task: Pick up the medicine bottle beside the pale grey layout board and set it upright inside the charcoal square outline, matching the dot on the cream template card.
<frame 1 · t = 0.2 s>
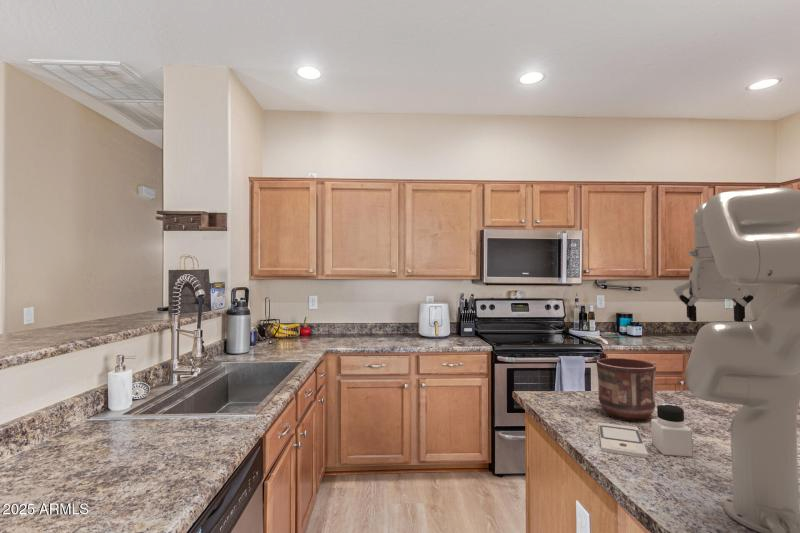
hand: (715, 321, 100), 36 cm above the countertop, tool pointing down, fingers open, 9 cm apart
pottery: (627, 415, 134), on the countertop
medicine bottle: (671, 451, 107), on the countertop
layout board: (620, 440, 113), on the countertop
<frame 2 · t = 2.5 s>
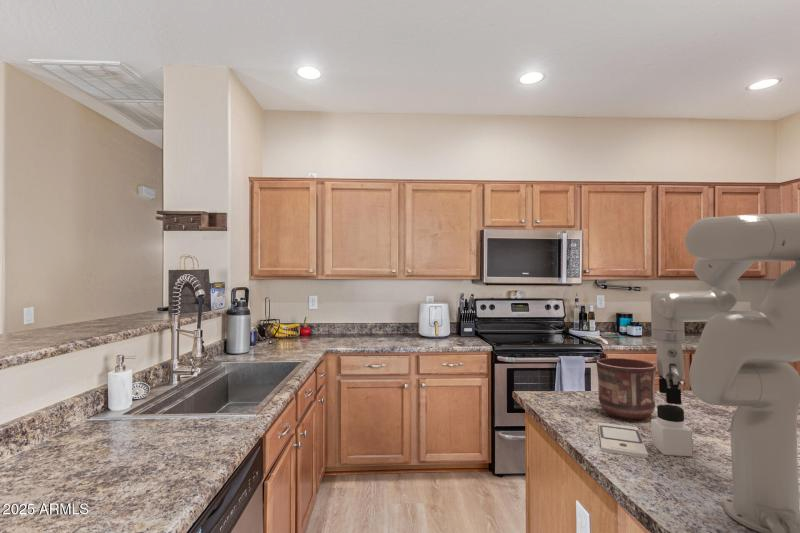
hand: (669, 398, 107), 14 cm above the countertop, tool pointing down, fingers open, 9 cm apart
nothing on the countertop moved.
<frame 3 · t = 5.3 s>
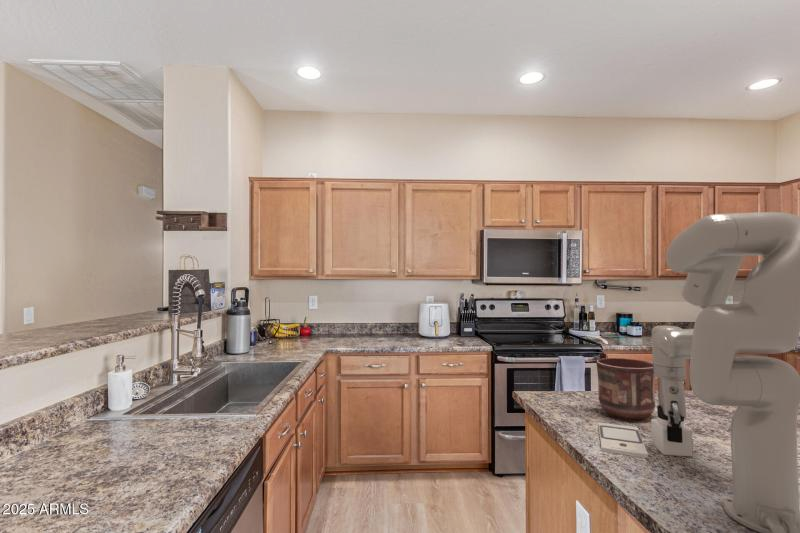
hand: (671, 435, 107), 4 cm above the countertop, tool pointing down, fingers closed on medicine bottle, 8 cm apart
medicine bottle: (671, 451, 107), on the countertop, touching gripper
everything else where it was.
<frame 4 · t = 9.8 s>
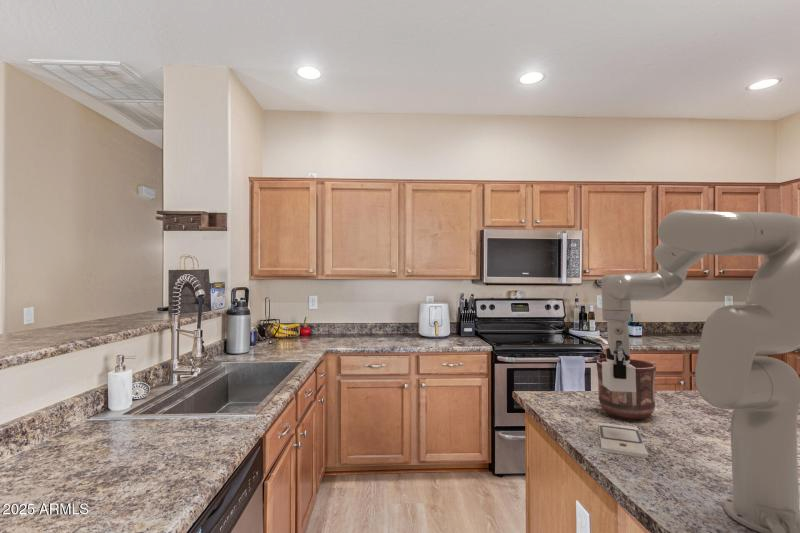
hand: (618, 374, 116), 19 cm above the countertop, tool pointing down, fingers closed on medicine bottle, 8 cm apart
medicine bottle: (618, 389, 115), point 14 cm above the countertop, touching gripper
everything else where it was.
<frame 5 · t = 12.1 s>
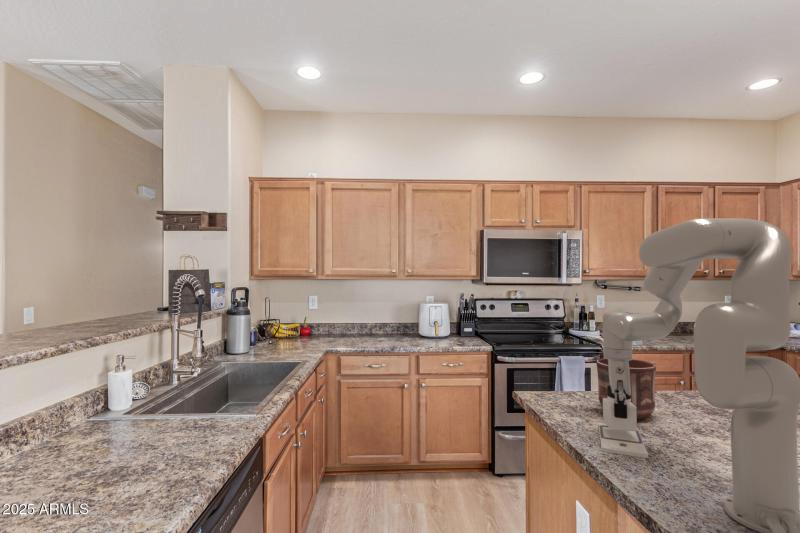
hand: (619, 412, 115), 7 cm above the countertop, tool pointing down, fingers closed on medicine bottle, 8 cm apart
medicine bottle: (619, 427, 115), point 3 cm above the countertop, touching gripper
everything else where it was.
when the fingers open (5 cm above the countertop, at t = 14.4 s): medicine bottle stays where it is, resting on layout board.
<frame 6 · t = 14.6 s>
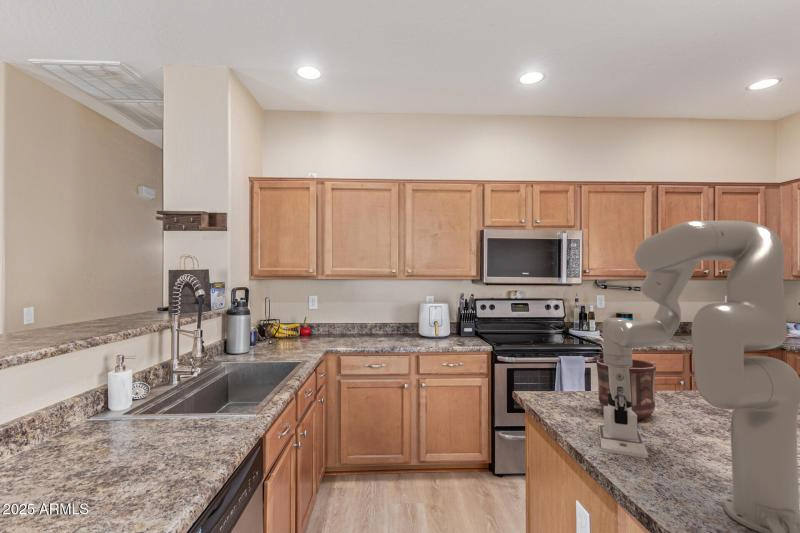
hand: (619, 418, 115), 6 cm above the countertop, tool pointing down, fingers open, 9 cm apart
medicine bottle: (620, 435, 115), point 1 cm above the countertop, touching layout board
everything else where it was.
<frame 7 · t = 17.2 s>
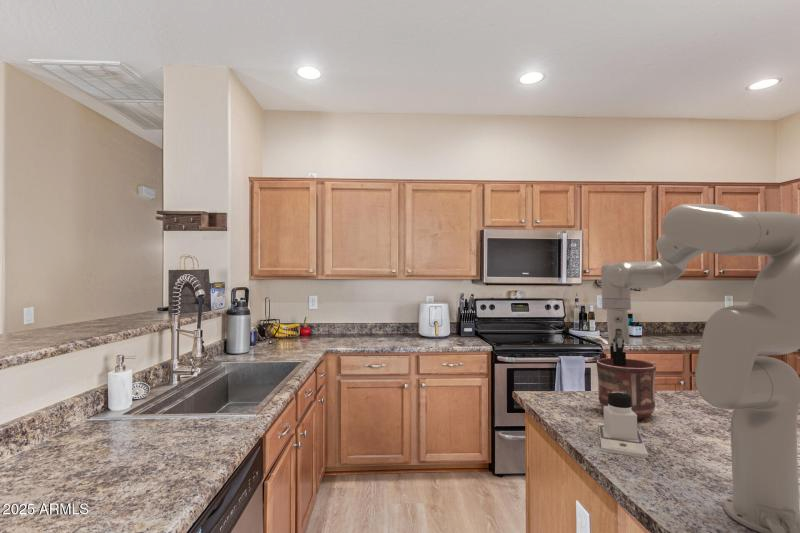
hand: (617, 362, 116), 22 cm above the countertop, tool pointing down, fingers open, 9 cm apart
nothing on the countertop moved.
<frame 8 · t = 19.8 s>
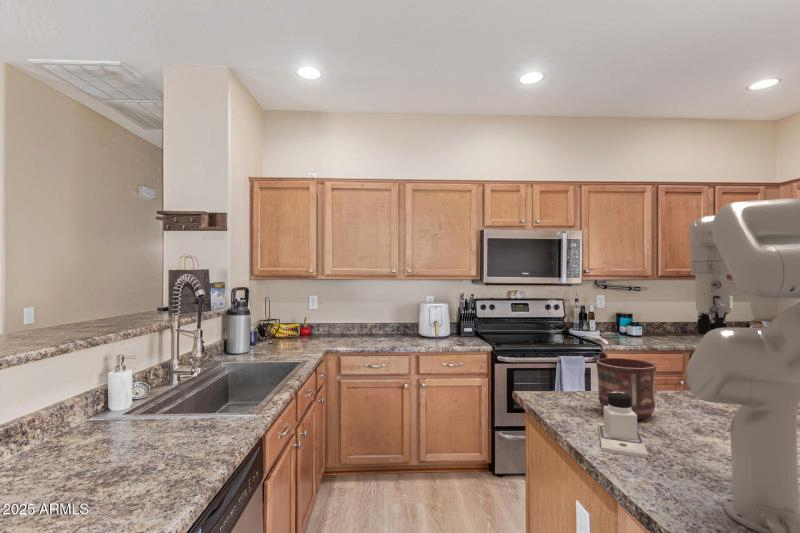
hand: (711, 336, 98), 32 cm above the countertop, tool pointing down, fingers open, 9 cm apart
nothing on the countertop moved.
at the end: medicine bottle 0.2 cm from the target spot on the layout board, point 0.8 cm above the layout board's base; medicine bottle tilted 0°; the gripper is holding nothing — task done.
